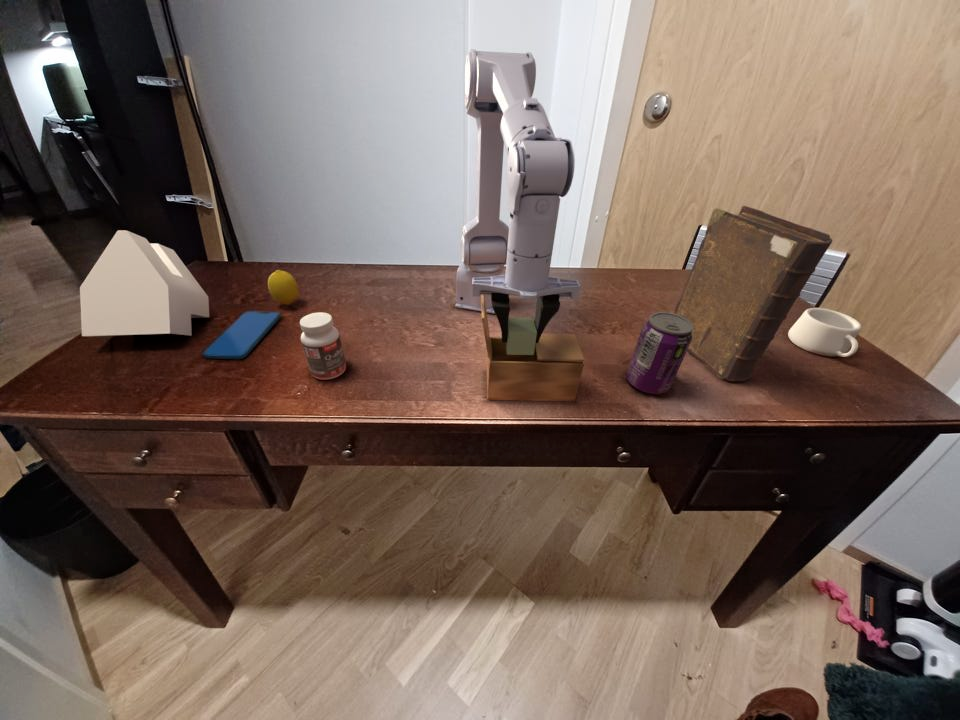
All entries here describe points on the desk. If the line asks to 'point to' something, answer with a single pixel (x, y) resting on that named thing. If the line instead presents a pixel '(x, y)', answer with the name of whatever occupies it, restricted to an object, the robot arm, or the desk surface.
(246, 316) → the smartphone
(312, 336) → the pill bottle
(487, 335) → the flap
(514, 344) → the block
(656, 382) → the beverage can
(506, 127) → the robot arm
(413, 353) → the desk surface
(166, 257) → the white house-shaped piece
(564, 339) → the carton
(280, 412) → the desk surface
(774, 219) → the book
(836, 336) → the mug
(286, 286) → the lemon
